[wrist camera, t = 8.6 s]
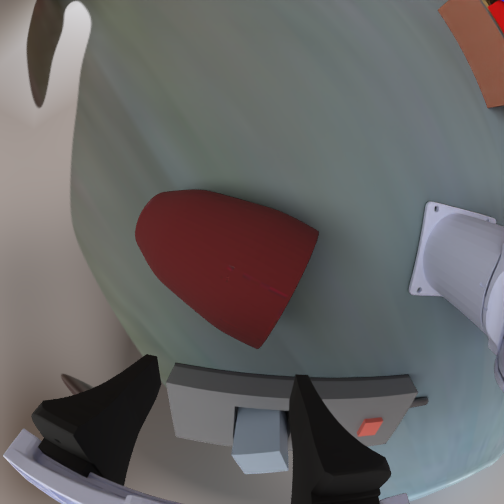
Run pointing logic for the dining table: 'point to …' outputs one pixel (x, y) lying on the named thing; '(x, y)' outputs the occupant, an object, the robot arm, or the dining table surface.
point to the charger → (261, 440)
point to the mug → (226, 258)
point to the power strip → (284, 402)
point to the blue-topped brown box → (480, 42)
